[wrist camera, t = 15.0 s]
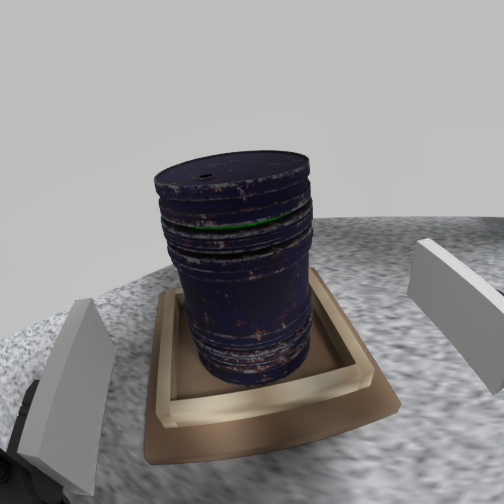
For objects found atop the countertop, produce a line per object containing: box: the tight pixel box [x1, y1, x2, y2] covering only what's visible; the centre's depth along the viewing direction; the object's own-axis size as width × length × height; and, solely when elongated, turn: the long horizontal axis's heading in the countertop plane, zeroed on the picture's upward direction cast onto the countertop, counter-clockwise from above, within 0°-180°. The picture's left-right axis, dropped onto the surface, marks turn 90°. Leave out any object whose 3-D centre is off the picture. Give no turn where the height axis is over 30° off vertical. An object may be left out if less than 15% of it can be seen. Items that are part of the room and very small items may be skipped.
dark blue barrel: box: [154, 150, 313, 387], centre depth 22 cm, size 10×10×15 cm
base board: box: [144, 267, 401, 465], centre depth 25 cm, size 18×20×3 cm
